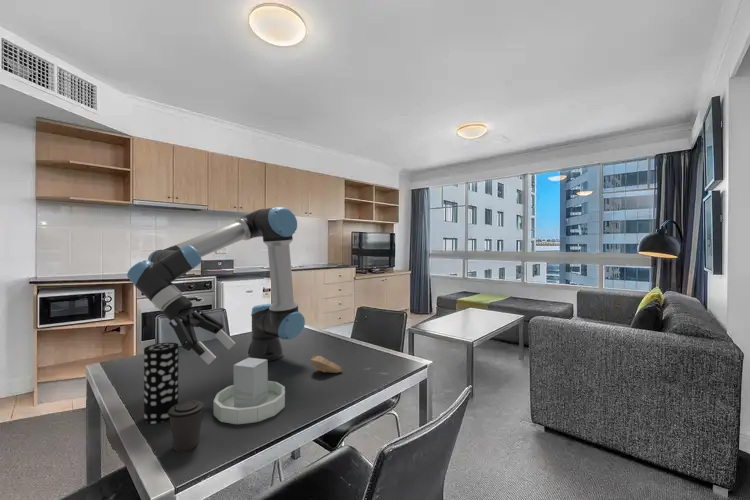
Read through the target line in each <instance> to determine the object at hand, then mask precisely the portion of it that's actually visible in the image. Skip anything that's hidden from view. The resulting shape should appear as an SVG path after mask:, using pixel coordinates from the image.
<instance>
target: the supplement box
mask: <svg viewBox="0 0 750 500" xmlns="http://www.w3.org/2000/svg"><path fill="white" fill-rule="evenodd" d="M268 363H269V361H268V360H266V359H257V358H244V359H243V360H241V361H239V362H236V363H235V364H233V365H232V366H233V369H232V370H233V385H234V406H236V407H242V408H245V407H254V406H259V405H261V404H262V403H263V402H265V401H266V400H267V399H268V381H269V379H268V377H269V375H268V369H269V368H268Z"/></svg>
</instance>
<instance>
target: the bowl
mask: <svg viewBox="0 0 750 500" xmlns="http://www.w3.org/2000/svg"><path fill="white" fill-rule="evenodd" d="M285 407H286V386H284V385H283V384H281V383H279V382H278V381H273V380H268V399H267V400H266V401H265V402H263V403H262V404H261V405H259V406H254V407H245V408H242V407H236V406H234V384H232V385H228V386H227V387H225V388H224V389H222V390H220V391H219V392H217V393H216V395H215V398H214V399H213V416H214V417H215V418H216V419H217V420H218V421H220V422H221V423H228V424H232V425H242V424H243V425H244V424H252V423H258V422H262V421H264V420H267V419H269V418H272V417H274V416H276V415H278V414H279V413H280V412H281V410H283V409H284V408H285Z"/></svg>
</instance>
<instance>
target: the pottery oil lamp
mask: <svg viewBox="0 0 750 500" xmlns="http://www.w3.org/2000/svg"><path fill="white" fill-rule="evenodd" d="M310 362H311V364H312V366H313V367H314V369H315V370H316V371H320V372H322V373H332V374H339V373H341V372H342V370H343V369H342V366H339V365H338V364H337V363H335V362H332V361H330V360H329V359H327V358H325V357H323V356H321V355H312V356H311V359H310Z"/></svg>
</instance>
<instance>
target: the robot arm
mask: <svg viewBox="0 0 750 500" xmlns="http://www.w3.org/2000/svg"><path fill="white" fill-rule="evenodd" d="M297 229H298V220H297V218H296V215H295V214H294V212H292V211H291V210H290V209H289V208H286V207H280V206H279V207H278V206H275V207H269V208H268V207H267V208H262V209H257V210H254V211H253V212H250V213H247V214H246V215H243V216H240V217H239V218H236V219H235V221H234V222H232V223H230V224H227V225H224V226H222V227H219V228H216V229H214V230H210V231H209V232H206V233H204V234H200V235H198V236H195V237H193V238H190V239H187V240H185V241H183V242H180V243H177V244H175V245H171V246H169V247H167V248H164V249H157V250H154V251H152V252H151V253H150V254H149V255H148V257H147V259H144V260H142V261H139V262H137V263H136V264H134V265H132V266H131V267H130V269H128V271H127V275H126V276H127V278H128V280H129V281H130V282H131V283H132V284H133V285H134V287H135V289H138V291H140V292H141V293H142V294H143V295H144V296H145V297H146V298H147V299H148V300H149V301H150V302H151V303H152V304H153V305H154V307H155V308H157V309H158V310H159V311H160V312H162V314H163V316H165V317H166V318H167V319H168V320H169V323H168V324H169V326H171V328H172V329H173V330H174V333H175V335H176V337H177V339H178V340H179V343H180V344H181V346H182V348H183V349H185V350H187V351H190V350H193V352H195V353H196V354H197V355H198V356H199V357H200V358H201V359H202V360H203V361H204V362H205V363H206V364H207V365H210V364H211V363H212V362H213V361H215V360H216V358H217V356H216V355H215V354H213V352H212V351H211V350H210V349H209V348H208V347H207V346H205V345H204V344H203V342H202V341H198V338H197V334H196V332H195V331H196V330H195V328H201V329H203V330H206V331H208V332H209V333H210V332H211V333H213V334H214V337H215V338H216V339H218V341H219V342H220V343H221V344H222V345H223V346H224V347H225V348H226V349H227V350H231V349H232V347H233V346H235V345H236V342H235V341H234V340H233V339H232V338H231V337H230V336H229V335H228V334H227V333H226V332H225V331H224V330H223V328H224V325H223V324H222V323H221V322H220V321H218V320H216V319H214V318H213V317H211V316H210V315H208V314H207V313H205V312H204V311H203V310H201V308H199V307H198V308H196V309H195V310H193V308H192V307H193V302H192V301H191V300H190V299H189V298H188V297H186V296H185V295H184V293H183V292H182V291H181V290H180V288H178V287H176V285H175V284H174V283H173V282H174V281H176V280H178V279H179V278H181V277H182V276H184V275H185V274H187V273H189V272H190V271H192V270H194V269H195V268H196V267H198V266H199V265H200V264H201V263H202V261H203V260H202V258H203V257H205V256H207V255H210V254H211V253H215V252H217V251H219V250H222V249H224V248H225V247H228V246H231V245H233V244H235V243H238V242H240V241H242V240H243V241H249V240H251V239H254V238H255V239H256V238H261V237H262V241H263V243H264V244H265V245H266V246H267V255H268V265H269V266H268V267H269V277H270V288H271V289H270V291H271V301H272V303H266V304H258V305H254V306H253V307H252V308H251V314H250V316H251V341H250V344H249V347H248V350H247V355H246V357H247V358H257V359H266V360H268V362H271V361H277V360H278V359H281V358H282V357H283V356H284V349H283V345H282V342H281V340H287V341H292V340H295V339H297V338H298V337H299V336H300V335H301V333H302V332H303V330H304V328H305V325H306V324H305V323H306V320H305V316H304V315H303V313H301V311H299V304H298V303H297V302H296V301H294V298H295V297H294V287H293V286H294V285H293V284H294V283H293V274H292V263H291V262H292V261H291V249H290V244H291V243H292V242H293V237H294V234H295V233H296V231H297ZM247 358H246V359H247Z"/></svg>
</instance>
